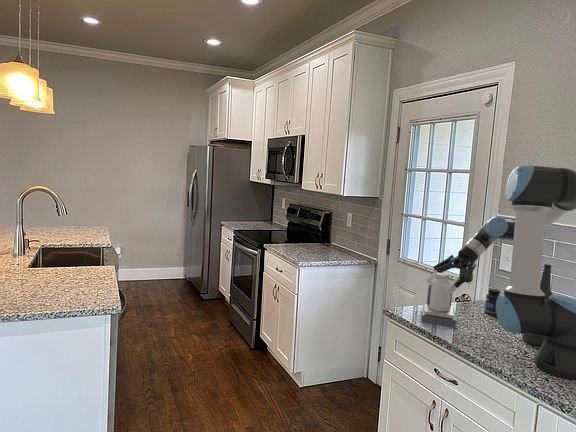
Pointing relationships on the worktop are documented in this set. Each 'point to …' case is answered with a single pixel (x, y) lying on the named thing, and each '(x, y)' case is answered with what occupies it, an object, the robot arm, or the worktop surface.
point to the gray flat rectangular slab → (438, 312)
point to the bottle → (546, 289)
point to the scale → (437, 319)
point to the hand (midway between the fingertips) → (437, 287)
